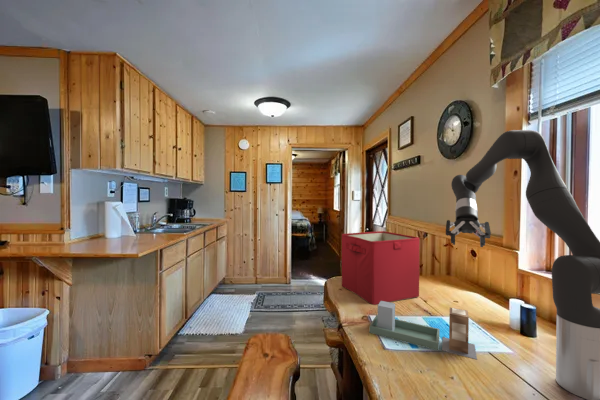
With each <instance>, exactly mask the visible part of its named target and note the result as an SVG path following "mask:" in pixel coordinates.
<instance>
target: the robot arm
mask: <svg viewBox="0 0 600 400" xmlns="http://www.w3.org/2000/svg"><path fill="white" fill-rule="evenodd" d="M506 159H509V160H521V159H522V160H524V161H525V163H526V165H527V166H528V169H529V172H530V175H529V179H528V182H527V186H526V189H525V198H526V200H527V202H528V205H529V206H530V209H531V212H532V213H533V214H534V216H535V217H536V219H538V220H539V221H540V222H541V223H542V224H543V225H544V226H545V227H547V228H548V229H549V230H550V231H552V232H553V233H555V234H556V235H557V236H558V237H559V238H560V239H561V240H562V241H563V242H564V243H565V245H566V246H567V247H568V249H569V251H570V253H571V254H568V255H567V254H565V255H560V256H558V257H557V258H556V259H555V260H554V262H553V263H552V267H551V283H552V284H551V285H552V286H551V287H552V299H553V303H554V305H555V308H556V332H555V333H556V336H555V338H556V339H555V341H556V343H555V344H556V345H555V349H556V350H555V381H556V382H557V384H558V385H559V386H560V387H561V388H563V389H564V390H566V391H567V392H568V393H571V394H573V395H576V396H577V397H580V398H582V399H585V400H600V308H599V307H597V306H594V305H593V304H594V303H593V297H592V294H593V295H594V294H596V295H597V294H598V295H600V240H599V239H598V236H596V234H595V233H594V232H593V229H592V228H591V226H590V225H589V224H588V221H587V220H586V219H585V218H586V217H584V215H583V214H582V212H581V210H580V208H579V206H578V205H577V202H576V201H575V199H574V197H573V195H572V193H571V192H570V190H569V188H568V187H567V185H566V184H565V182H564V180H563V178H562V177H561V175H560V172H559V171H558V168H557V167H556V165H555V163H554V161H553V158H552V155H551V154H550V151H549V149H548V146H547V143H546V141H545V139H544V137H543V135H542V134H541V133H540V132H539V131H537V130H532V129H517V130H516V129H513V130H512V129H511V130H509V131H508V130H507V131H505V132H503V133H502V134H500V135H499V136H498V138H496V140H495V141H494V142H493V143H492V145H491V146H490V147H489V148H488V150H487V152H486V153H485V154H484V156H483V157H482V158H481V159H480V160H479V162H477V163H476V164H474V165H473V166H472V167H471V168H470V169H469V170H468V171H467V172H466V174H465V175H463V174H457V175H455V176H454V177H453V178H452V180H451V189H452V192H453V194H454V197H455V201H456V203H455V211H454V212H455V221H451V220H450V219H447V220H446V223H445V236H450V243H451V244H452V245H453V246H455V245H456V236H457V235H459V234H461V233H463V234H474V235H475V237H478V238H479V246H480V248H483V247H484V246H486V239H491V235H492V232H491V226H490V223H489V221H485V222H484V223H483V222H482V223H481V222H480V221H479V211H478V205H477V196H476V193H477V192H478V191H479V189H480V187H481V186H482V184H483V183H484V182H486V181H487V180H489V179H490V178H492V176H493V175H494V174H495V173H496V171H497V165H498V163H500V162H502V161H504V160H506ZM453 226H454V229H452V230H451V228H453ZM481 228H482V229H483V230H484V232H483V230H482V229H481Z"/></svg>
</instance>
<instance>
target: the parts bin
mask: <svg viewBox="0 0 600 400" xmlns="http://www.w3.org/2000/svg"><path fill="white" fill-rule="evenodd" d="M377 322H378V314H375V317H373V320H372V321H371V322H370V324H369V329H368V330H369V334H374V335H377V336H381V337H384V338H388V339H392V340H396V341H401V342H403V343H408V344H411V345H415V346H418V347H423V348H427V349H430V350H434V351H439V344H440V330H441V329H440V328H436V327H432V326H428V325H423V324H419V323H414V322H410V321H405V320H401V319H396V318H395V329H394V331H391V330H387V329H383V328H379V327H377Z"/></svg>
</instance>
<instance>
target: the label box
mask: <svg viewBox="0 0 600 400" xmlns="http://www.w3.org/2000/svg"><path fill="white" fill-rule="evenodd" d="M469 317H470V316H469V311H468V310H465V309H461V308H455V307H449V319H448V320H449V323H448V324H449V326H448V327H449V329H448V330H449V331H448V332H449V334H448V335H449V337H448V338H449V349H451V350H455V351H459V352H463V353H467V354H468V343H469V327H470V326H469V325H470V324H469V321H470V319H469Z"/></svg>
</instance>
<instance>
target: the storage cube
mask: <svg viewBox="0 0 600 400" xmlns="http://www.w3.org/2000/svg"><path fill="white" fill-rule="evenodd" d="M341 287H342V288H345V289H346V290H348V291H351V292H352V293H353V294H354V295H357V296H358V297H360V298H362V299H363V300H364V301H365V302H367V303H369V304H370V305H372V306H378V304H379V303H380V301H385V302H390V303H394V302H397V301H404V300H408V299H414V298H418V297H419V296H420V237H418V236H412V235H407V234H406V235H405V234H402V233H397V232H396V233H395V232H391V231H385V230H383V231H378V230H377V231H364V232H363V231H362V232H350V233H349V232H348V233H341Z"/></svg>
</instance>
